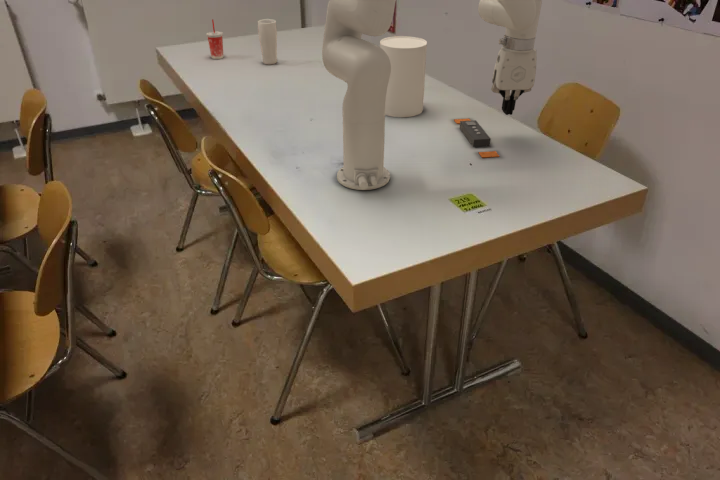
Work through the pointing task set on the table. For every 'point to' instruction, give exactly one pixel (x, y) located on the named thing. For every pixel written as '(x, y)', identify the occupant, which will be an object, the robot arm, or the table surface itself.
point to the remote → (475, 133)
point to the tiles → (482, 154)
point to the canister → (405, 75)
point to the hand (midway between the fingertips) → (507, 112)
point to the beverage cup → (215, 43)
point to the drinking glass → (268, 40)
